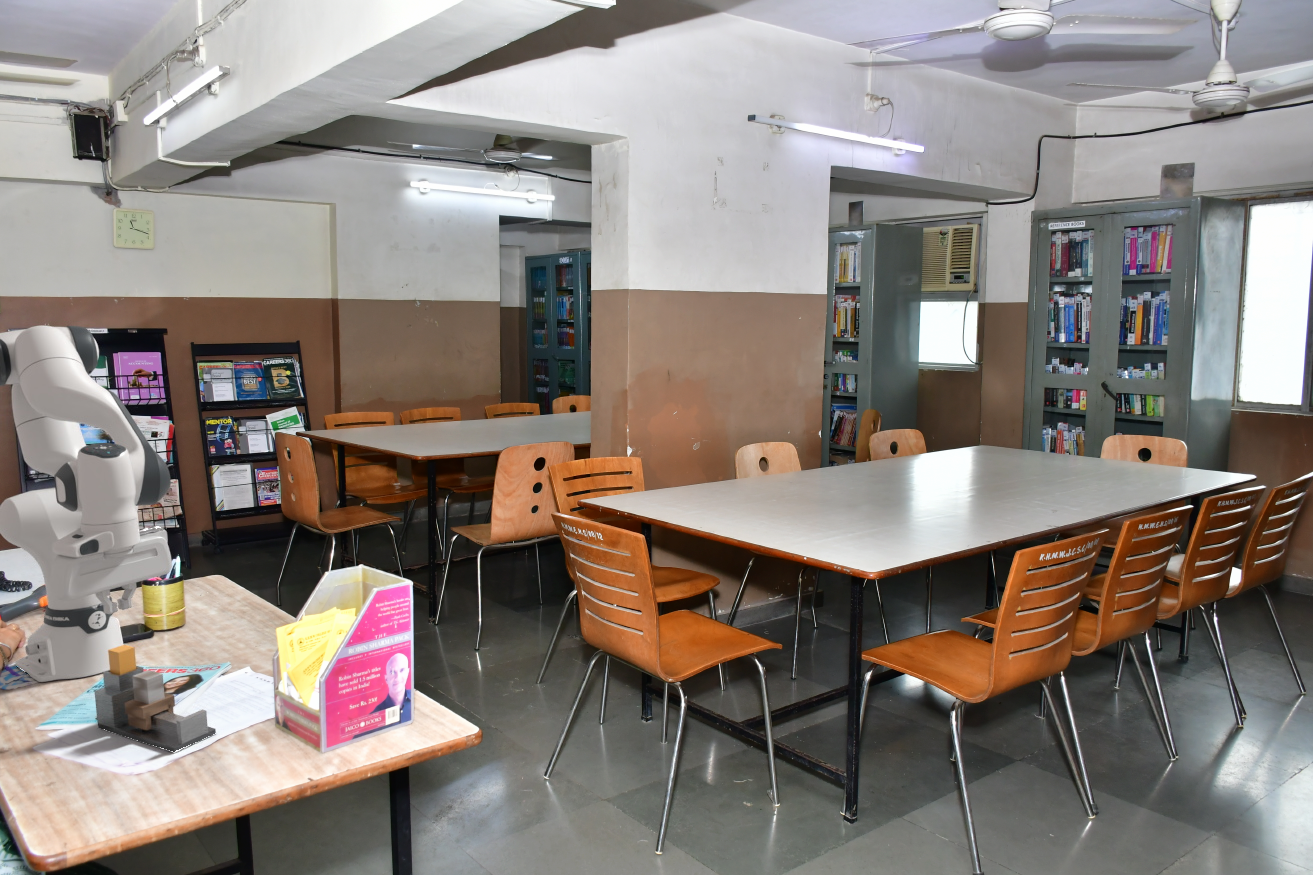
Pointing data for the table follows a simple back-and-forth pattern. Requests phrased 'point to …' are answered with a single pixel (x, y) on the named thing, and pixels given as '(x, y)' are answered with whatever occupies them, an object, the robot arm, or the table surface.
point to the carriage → (148, 699)
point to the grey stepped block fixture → (165, 725)
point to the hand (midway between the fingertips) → (118, 610)
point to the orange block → (122, 659)
